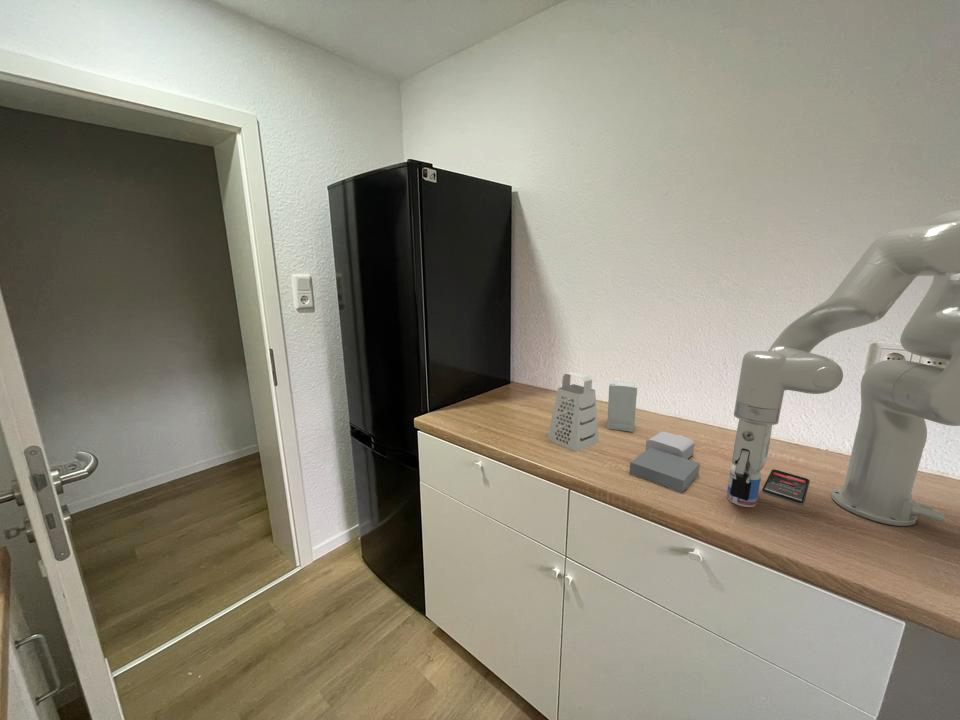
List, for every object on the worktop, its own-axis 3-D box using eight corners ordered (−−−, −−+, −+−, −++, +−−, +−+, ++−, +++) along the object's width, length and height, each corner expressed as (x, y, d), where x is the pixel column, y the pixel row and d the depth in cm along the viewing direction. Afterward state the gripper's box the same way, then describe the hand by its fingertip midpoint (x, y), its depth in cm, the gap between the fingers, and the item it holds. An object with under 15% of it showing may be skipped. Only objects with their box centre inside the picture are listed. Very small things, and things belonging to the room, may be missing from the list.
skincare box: (634, 426, 124) (638, 382, 121) (633, 433, 118) (638, 387, 115) (607, 422, 127) (611, 379, 124) (605, 428, 121) (609, 383, 118)
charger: (700, 450, 108) (680, 467, 98) (667, 440, 114) (644, 454, 104) (703, 434, 107) (682, 449, 97) (669, 425, 113) (646, 438, 103)
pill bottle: (761, 503, 82) (768, 461, 80) (748, 511, 79) (756, 467, 77) (733, 491, 86) (740, 451, 84) (720, 498, 83) (727, 456, 81)
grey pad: (698, 474, 94) (700, 463, 93) (681, 492, 85) (683, 480, 85) (648, 458, 102) (649, 447, 101) (629, 473, 93) (630, 462, 93)
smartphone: (810, 479, 92) (803, 504, 81) (809, 482, 92) (802, 507, 81) (772, 468, 97) (761, 490, 86) (771, 471, 97) (760, 493, 86)
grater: (576, 451, 105) (581, 381, 101) (547, 439, 113) (550, 373, 109) (598, 442, 111) (604, 375, 107) (569, 430, 119) (573, 368, 115)
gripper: (771, 427, 70) (755, 516, 74) (785, 407, 82) (770, 484, 86) (724, 417, 75) (711, 500, 79) (744, 398, 87) (731, 472, 91)
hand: (742, 491), depth 82 cm, fingers closed on pill bottle, 5 cm apart
